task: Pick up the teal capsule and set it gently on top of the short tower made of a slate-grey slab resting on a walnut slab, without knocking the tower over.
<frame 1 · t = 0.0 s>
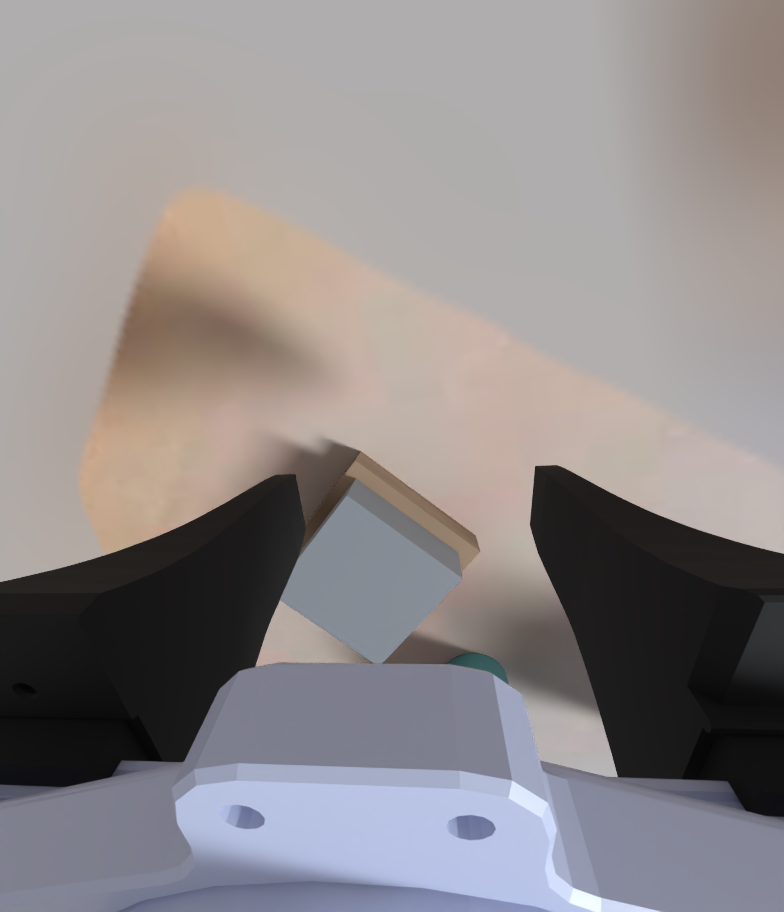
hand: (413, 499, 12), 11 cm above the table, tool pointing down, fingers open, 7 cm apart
walnut slab: (377, 540, 25), on the table, touching grey slab
grey slab: (370, 560, 22), point 2 cm above the table, touching walnut slab
teal capsule: (473, 680, 26), on the table
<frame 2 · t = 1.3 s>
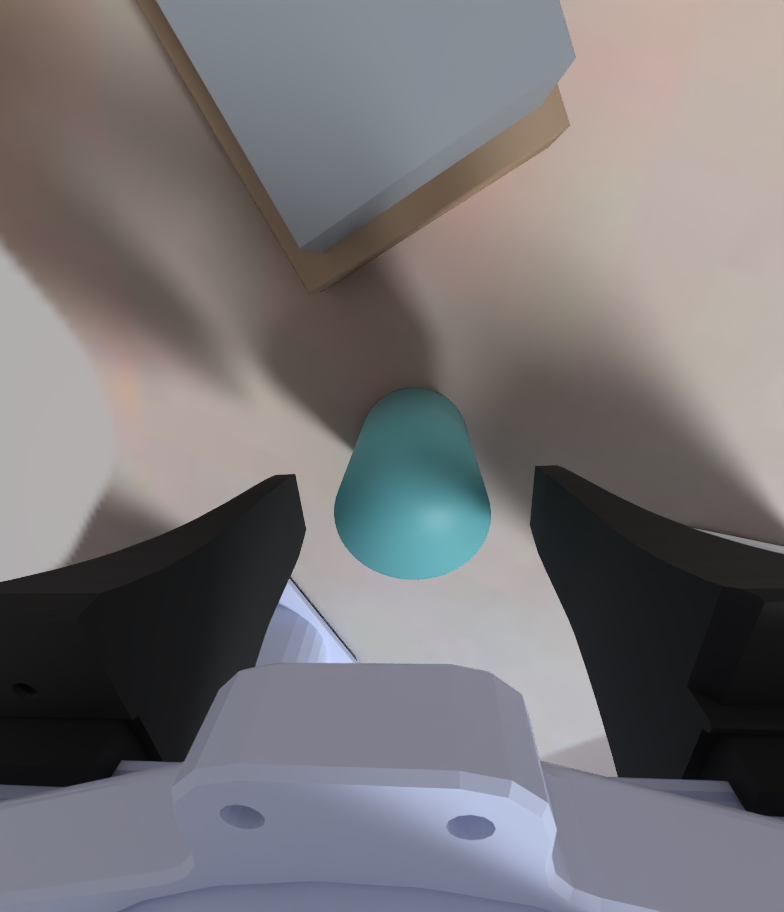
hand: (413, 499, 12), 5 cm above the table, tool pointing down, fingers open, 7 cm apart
walnut slab: (364, 91, 12), on the table, touching grey slab
grey slab: (359, 43, 10), point 2 cm above the table, touching walnut slab
teal capsule: (413, 439, 16), on the table
syrup box: (706, 579, 19), on the table
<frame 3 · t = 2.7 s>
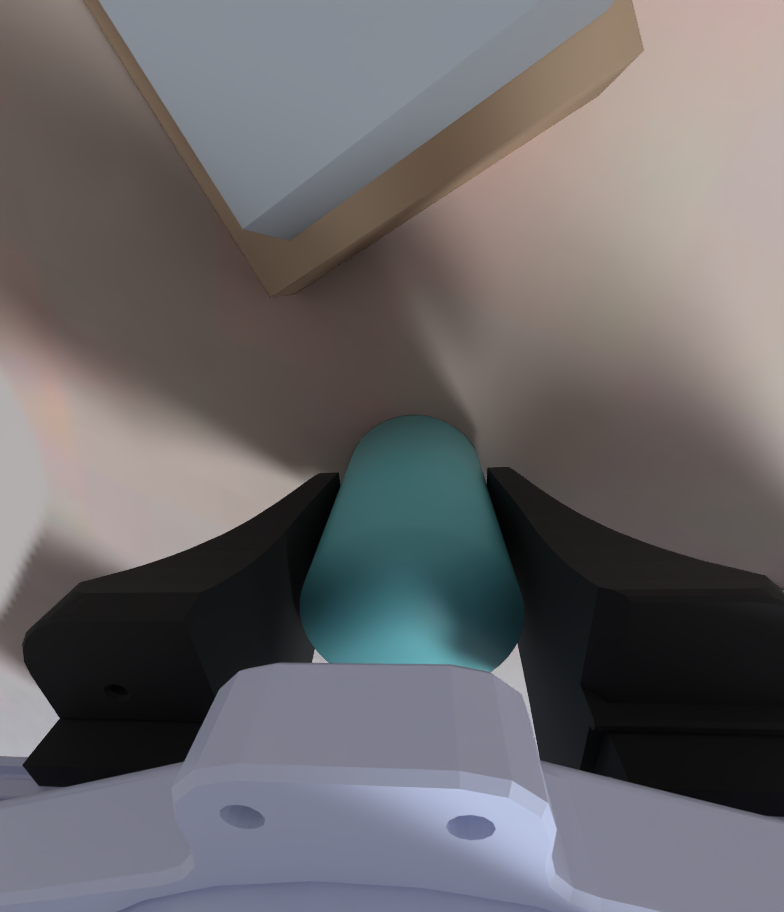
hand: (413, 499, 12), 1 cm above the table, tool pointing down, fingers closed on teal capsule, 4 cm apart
walnut slab: (344, 20, 9), on the table, touching grey slab
teal capsule: (414, 477, 13), on the table, touching gripper
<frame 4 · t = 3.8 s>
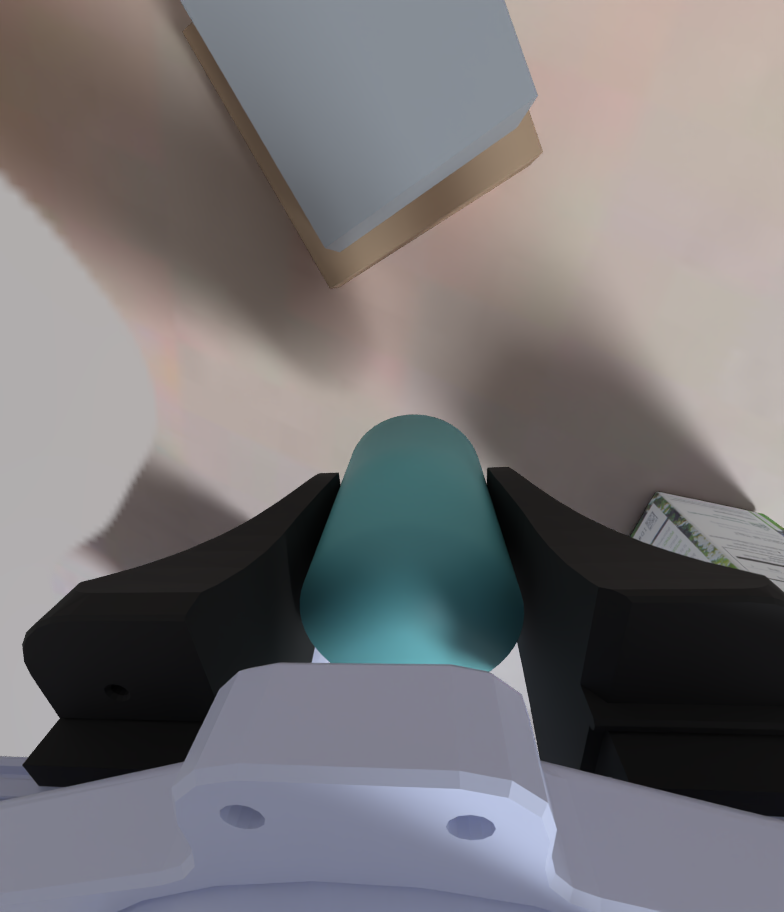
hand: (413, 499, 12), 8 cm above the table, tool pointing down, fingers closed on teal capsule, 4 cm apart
walnut slab: (375, 120, 15), on the table, touching grey slab
grey slab: (369, 82, 12), point 2 cm above the table, touching walnut slab
teal capsule: (414, 476, 13), point 6 cm above the table, touching gripper
syrup box: (674, 540, 21), on the table
when the fingers open (8 cm above the table, at t = 5.6 s): teal capsule drops 2 cm, resting on grey slab.
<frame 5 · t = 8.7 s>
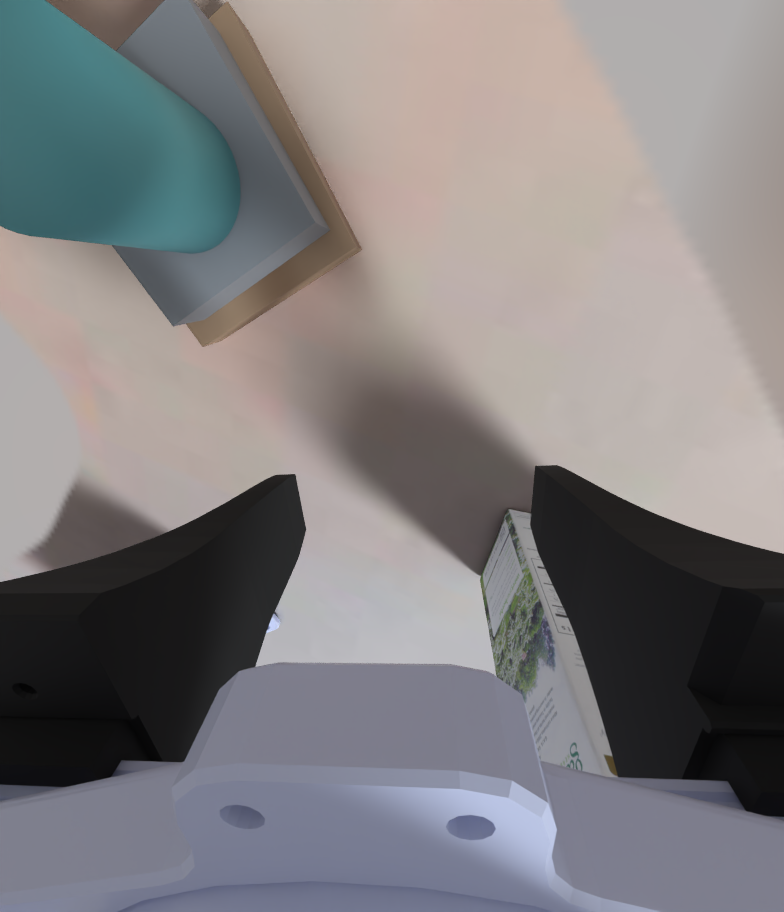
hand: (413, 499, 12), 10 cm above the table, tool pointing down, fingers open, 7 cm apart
walnut slab: (238, 210, 18), on the table, touching grey slab
grey slab: (211, 195, 16), point 2 cm above the table, touching teal capsule, walnut slab
teal capsule: (178, 181, 13), point 4 cm above the table, touching grey slab
syrup box: (533, 550, 25), on the table
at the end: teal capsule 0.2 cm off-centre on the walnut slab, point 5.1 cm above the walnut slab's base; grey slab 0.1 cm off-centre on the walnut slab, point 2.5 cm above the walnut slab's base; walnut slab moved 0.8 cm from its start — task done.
